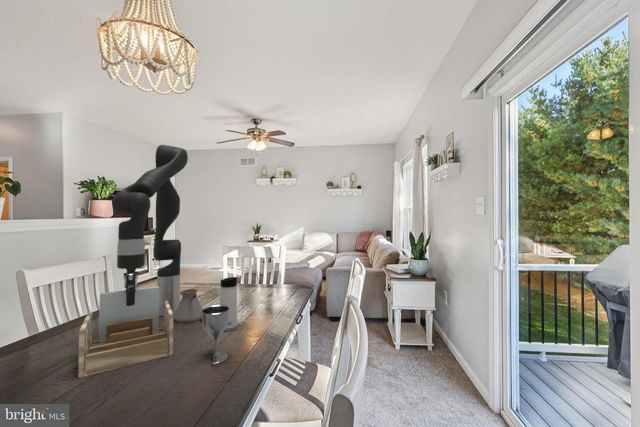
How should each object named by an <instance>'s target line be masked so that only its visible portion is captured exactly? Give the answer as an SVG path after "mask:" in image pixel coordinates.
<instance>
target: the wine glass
mask: <svg viewBox="0 0 640 427" xmlns="http://www.w3.org/2000/svg"><path fill="white" fill-rule="evenodd" d="M202 309H203V310H202V318H201V322H202V327H203V329H204V331H205V332H206V333H207V334H208V335H209V336H210V337H211V339H212V341H213V352H212V353H211V355H212V358H210V360H211V362H212V365H217V364H221V363H222V362H225V361H226V360H227V359H228V354H227V353H226V352H221V351H220V352H219V351H218V341H219V338H220V336H221V335H222V334H223V333H224V332H225V331H224V330H225V329H226V327H227V324H228V320H229V307H228V306H223V305H220V304H219V305H211V306H207V307H205V308H202Z"/></svg>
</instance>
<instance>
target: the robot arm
mask: <svg viewBox="0 0 640 427" xmlns="http://www.w3.org/2000/svg"><path fill="white" fill-rule="evenodd" d="M154 158H155V168H152V169H150V170H148V171H146V172H145V173H143V174H142V175H141V176H140V177H139V178H138V179H137V180H136V181H135V182H134V183H132V184H129V185H128V186H126V187H125V188H122V189H121V190H120V191H118V192H117V193H116V194H115V195H114V197H113V198H112V202H111V205H112V209H113V210H114V211H115V212H117V213H119V214H123V215H124V214H125V215H126V214H127V215H128V214H130V215H131V217H130V219H128V220H124V221H121V222H120V223H119V224H118V235H117V236H118V242H117V248H116V249H117V250H116V255H117V256H116V267H117V268H118V269H121V270H125V271H126V272H124V273H123V280H124V285H123V286H124V289H125V290H126V291H125V293H126V306H133V305H134V304H135V292H136V290H135V289H136V288H137V286H138V279H139V271H136V269H139V268H143V267H144V266H145V260H146V257H145V254H146V251H145V250H146V245H145V225H146V222H147V218H148V216H149V212H150V209H151V200H150V198H152V197H154V196H155V195H156V196H155V231H154V232H155V233H154V242H153V257H154V259H155V261H158V262H159V261H160V262H161V261H171V262H170V263H169V264H167V265H165V266H163V267H160V268H158V270H156V275H157V276H156V287H157V286H159V317H164V313H165V301H168V303H169V305H170V308H171V310H172V313H173V316H174V315H175V313H176V310H177V308H178V306H179V304H180V301H181V293H180V292H181V259H182V258H181V257H182V243H181V241H180V240H179V239H164V237H165V234H167V233H166V232H167V231H168V230H169V228H170V227H171V226H172V224H173V223H174V222H175V220H177V218H178V216H179V215H180V210H181V198H180V195H179V193H178V191H177V189H176V188H175V186H174V185H173V183H172V181H171V179H172V178H173V177H174V176H175V175H177V174H178V173H179V172H181V171H182V170H183V169H184V168H185V167H186V165H187V164H188V160H189V158H188V152H187V150H185V149H184V148H183V147H178V146H173V145H167V144H160V145H158V146H157V148H156V150H155V157H154Z"/></svg>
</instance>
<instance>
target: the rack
mask: <svg viewBox="0 0 640 427" xmlns="http://www.w3.org/2000/svg"><path fill="white" fill-rule="evenodd" d="M93 314H94V312H93V311H89V312H87V315H86V316H85V318H84V319H83V323H82V324H81V326H80V328H79V331H78V371H77V372H78V378H83V377H87V376H91V375H96V374H98V373H99V374H100V373H103V372H107V371H112V370H116V369H119V368H123V367H128V366H132V365H136V364H140V363H144V362H148V361H152V360H157V359H160V358H165V357H169V356H173V355H174V315H173V313H172V310H171V308H170V305H169V303H168V301H165V313H164V316H163V317H164V321H163V322H164V326H163V327H159V332H155V333H152V335H149V336H144V337H139V338H134V339H129V340H124V341H119V342H114V343H109V344H106V342H104V343H99V339H96V340H93Z"/></svg>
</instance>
